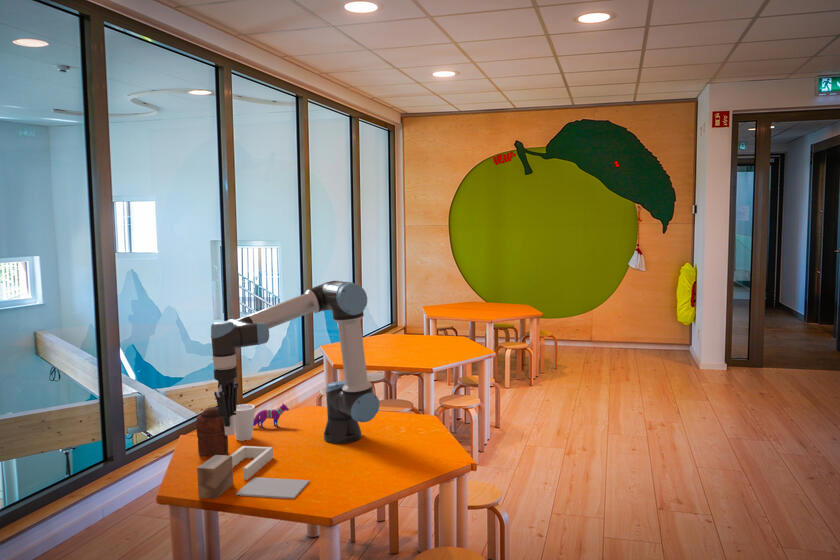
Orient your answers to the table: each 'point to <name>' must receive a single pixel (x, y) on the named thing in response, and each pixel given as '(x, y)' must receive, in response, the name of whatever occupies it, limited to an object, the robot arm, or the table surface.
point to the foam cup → (244, 421)
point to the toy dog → (269, 415)
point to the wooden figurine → (211, 433)
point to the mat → (273, 488)
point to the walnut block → (215, 476)
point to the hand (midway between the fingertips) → (229, 434)
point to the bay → (259, 453)
